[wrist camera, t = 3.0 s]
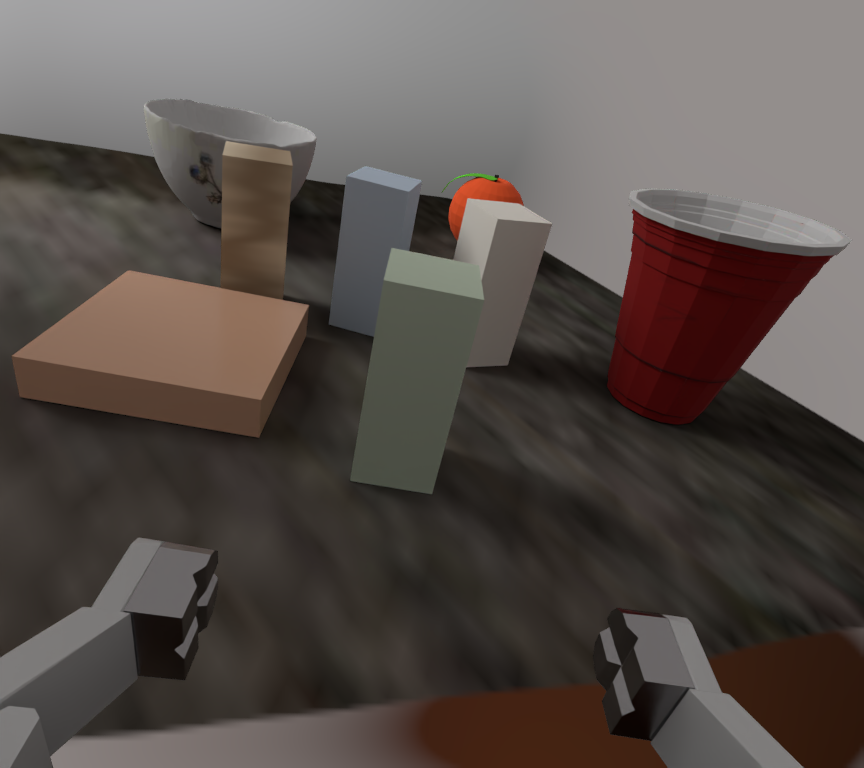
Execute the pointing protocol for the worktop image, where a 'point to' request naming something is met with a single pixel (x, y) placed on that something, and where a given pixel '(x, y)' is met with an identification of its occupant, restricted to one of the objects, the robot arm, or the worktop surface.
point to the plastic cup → (705, 294)
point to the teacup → (216, 148)
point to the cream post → (501, 271)
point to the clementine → (480, 196)
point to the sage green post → (416, 369)
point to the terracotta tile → (168, 354)
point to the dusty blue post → (370, 243)
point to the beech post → (255, 218)
